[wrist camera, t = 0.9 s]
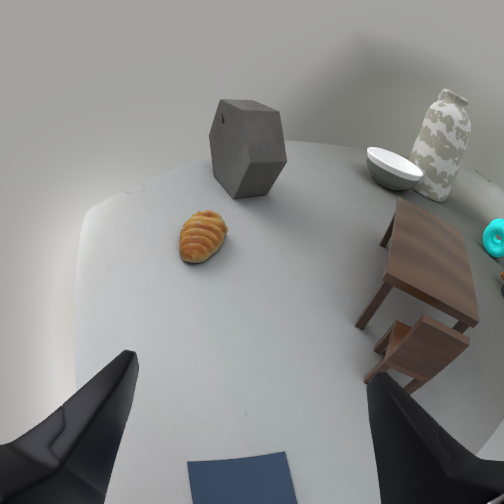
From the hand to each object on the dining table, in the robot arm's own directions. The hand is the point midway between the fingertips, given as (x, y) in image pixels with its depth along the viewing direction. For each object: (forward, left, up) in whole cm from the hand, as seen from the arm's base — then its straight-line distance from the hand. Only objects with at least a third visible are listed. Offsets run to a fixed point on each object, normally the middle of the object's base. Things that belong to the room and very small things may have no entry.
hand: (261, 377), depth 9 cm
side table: (+17, -31, -18) cm, 40 cm away
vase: (+62, -75, -18) cm, 99 cm away
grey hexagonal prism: (+49, -8, -18) cm, 53 cm away
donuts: (+28, -80, -18) cm, 87 cm away
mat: (-6, -1, -18) cm, 19 cm away
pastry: (+29, 0, -18) cm, 35 cm away
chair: (+5, -21, -18) cm, 28 cm away
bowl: (+59, -55, -18) cm, 83 cm away
